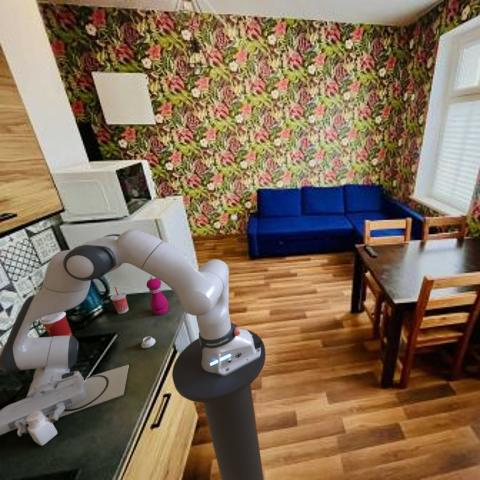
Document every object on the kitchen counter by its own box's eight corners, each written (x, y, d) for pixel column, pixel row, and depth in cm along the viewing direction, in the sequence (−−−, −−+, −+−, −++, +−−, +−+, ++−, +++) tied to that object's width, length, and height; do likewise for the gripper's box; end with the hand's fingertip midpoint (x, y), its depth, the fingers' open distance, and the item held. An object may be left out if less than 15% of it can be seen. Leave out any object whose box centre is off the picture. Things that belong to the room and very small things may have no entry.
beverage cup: (121, 306, 136) (113, 283, 130) (133, 307, 135) (125, 283, 130) (112, 314, 130) (103, 290, 125) (124, 314, 130) (116, 290, 124)
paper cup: (56, 339, 115) (43, 312, 109) (78, 333, 118) (67, 307, 113) (49, 351, 108) (35, 323, 103) (73, 344, 112) (61, 318, 106)
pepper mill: (158, 317, 128) (147, 281, 120) (150, 312, 131) (139, 277, 124) (172, 309, 134) (163, 275, 126) (164, 305, 137) (155, 271, 129)
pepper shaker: (51, 428, 80) (38, 406, 77) (59, 433, 79) (46, 411, 75) (34, 441, 77) (20, 419, 73) (42, 447, 76) (28, 425, 72)
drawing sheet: (129, 365, 102) (128, 364, 102) (123, 395, 90) (123, 393, 90) (61, 386, 93) (60, 385, 93) (45, 422, 82) (45, 421, 82)
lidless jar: (153, 338, 115) (140, 344, 112) (152, 332, 114) (138, 338, 111) (157, 344, 112) (143, 350, 109) (155, 338, 111) (141, 345, 108)
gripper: (-5, 401, 79) (-23, 442, 68) (84, 368, 90) (80, 399, 79) (5, 415, 81) (-12, 457, 71) (90, 381, 92) (87, 413, 82)
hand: (38, 426), depth 75 cm, fingers closed on pepper shaker, 5 cm apart
